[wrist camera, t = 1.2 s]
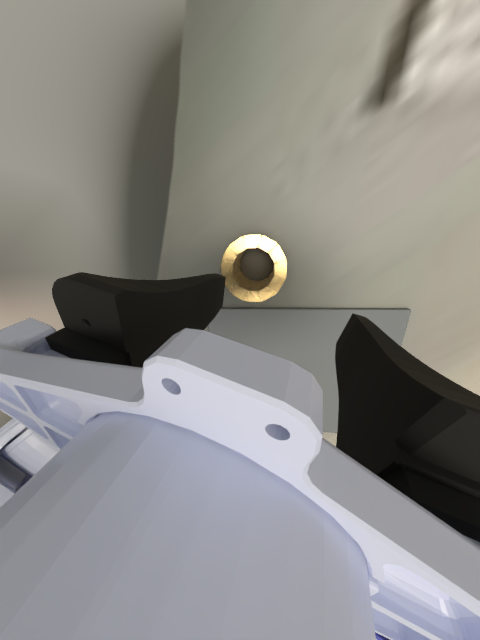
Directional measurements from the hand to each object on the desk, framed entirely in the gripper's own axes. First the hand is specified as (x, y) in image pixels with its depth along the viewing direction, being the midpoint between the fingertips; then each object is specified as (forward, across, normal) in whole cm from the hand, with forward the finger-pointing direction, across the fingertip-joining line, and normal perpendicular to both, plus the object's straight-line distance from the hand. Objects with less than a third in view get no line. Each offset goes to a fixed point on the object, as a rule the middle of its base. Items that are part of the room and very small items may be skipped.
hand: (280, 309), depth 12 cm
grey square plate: (+10, -4, +14) cm, 17 cm away
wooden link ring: (+11, +4, +1) cm, 12 cm away
